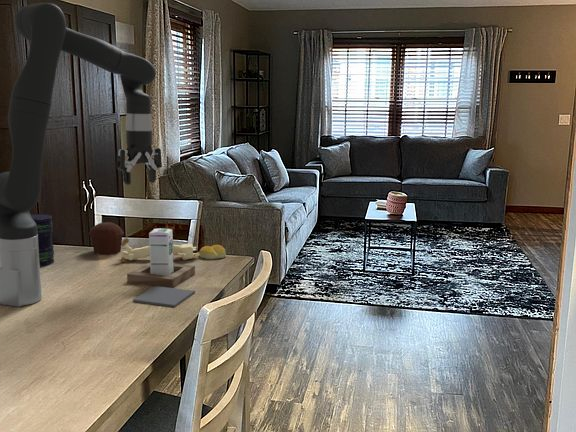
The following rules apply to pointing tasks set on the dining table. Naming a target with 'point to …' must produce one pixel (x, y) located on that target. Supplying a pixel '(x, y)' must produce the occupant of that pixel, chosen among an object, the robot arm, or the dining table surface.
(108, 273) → the dining table surface
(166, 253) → the syrup box
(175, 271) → the walnut socket
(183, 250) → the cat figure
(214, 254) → the bread roll
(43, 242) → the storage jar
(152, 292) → the charcoal mat
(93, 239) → the muffin
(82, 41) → the robot arm
